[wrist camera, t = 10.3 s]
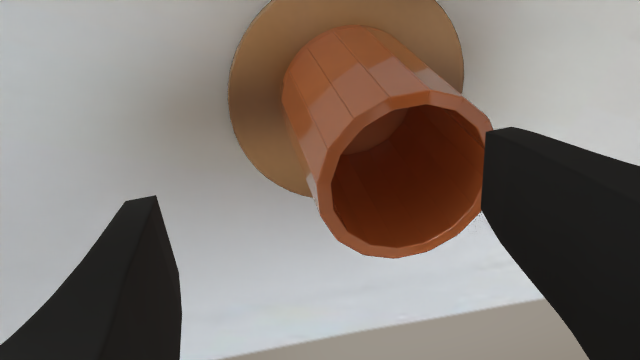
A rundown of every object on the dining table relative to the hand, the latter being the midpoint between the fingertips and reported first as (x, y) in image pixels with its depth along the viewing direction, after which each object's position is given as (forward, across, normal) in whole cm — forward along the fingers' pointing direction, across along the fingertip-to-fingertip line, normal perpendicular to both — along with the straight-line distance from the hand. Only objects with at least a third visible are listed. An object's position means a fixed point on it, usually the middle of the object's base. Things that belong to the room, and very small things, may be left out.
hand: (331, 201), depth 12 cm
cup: (+9, -3, +2) cm, 9 cm away
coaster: (+9, -3, +2) cm, 10 cm away
